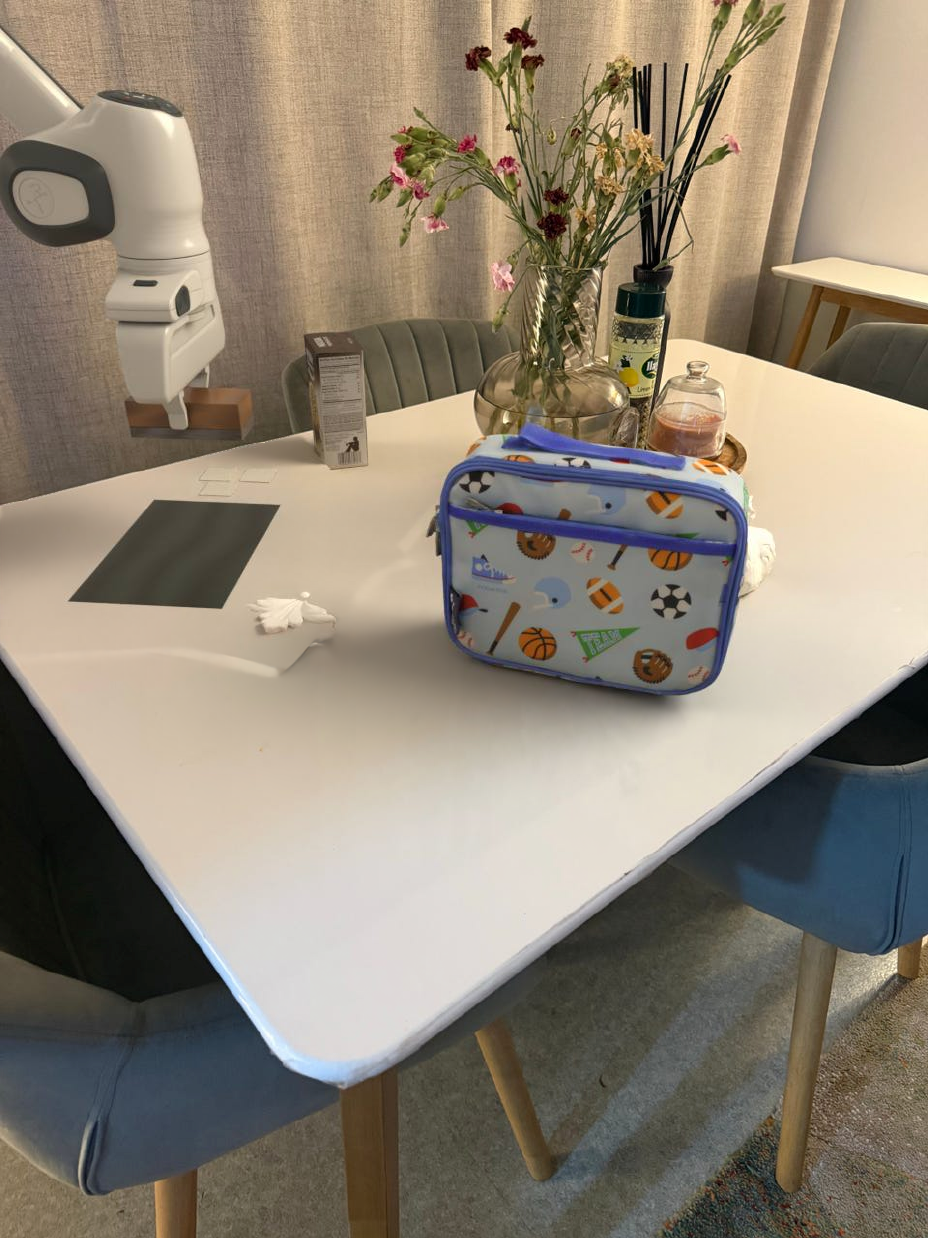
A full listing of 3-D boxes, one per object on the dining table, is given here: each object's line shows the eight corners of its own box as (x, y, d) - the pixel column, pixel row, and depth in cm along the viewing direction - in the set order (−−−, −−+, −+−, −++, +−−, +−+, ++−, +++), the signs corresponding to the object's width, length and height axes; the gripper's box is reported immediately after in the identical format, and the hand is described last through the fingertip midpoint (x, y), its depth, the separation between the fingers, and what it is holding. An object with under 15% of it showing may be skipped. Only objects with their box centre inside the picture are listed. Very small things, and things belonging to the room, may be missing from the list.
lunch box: (417, 664, 83) (412, 442, 71) (450, 608, 92) (450, 401, 80) (717, 720, 77) (767, 486, 65) (723, 653, 85) (768, 436, 73)
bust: (755, 585, 100) (722, 491, 100) (809, 571, 94) (773, 471, 94) (681, 617, 95) (645, 517, 94) (732, 605, 88) (693, 498, 88)
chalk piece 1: (199, 486, 116) (198, 479, 115) (209, 474, 119) (208, 467, 119) (230, 487, 116) (228, 480, 115) (238, 475, 119) (237, 468, 119)
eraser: (131, 437, 94) (123, 400, 92) (148, 420, 99) (141, 385, 96) (242, 441, 94) (237, 404, 92) (254, 423, 98) (250, 388, 96)
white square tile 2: (239, 487, 116) (238, 480, 115) (249, 475, 119) (248, 468, 119) (269, 489, 115) (268, 482, 115) (278, 476, 119) (277, 469, 118)
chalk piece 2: (199, 501, 112) (198, 494, 112) (209, 488, 116) (208, 481, 115) (231, 502, 112) (229, 495, 111) (240, 489, 115) (239, 482, 115)
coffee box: (312, 446, 128) (302, 332, 119) (356, 441, 129) (349, 329, 120) (323, 471, 120) (313, 352, 112) (370, 465, 122) (363, 348, 113)
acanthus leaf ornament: (337, 628, 88) (335, 612, 87) (271, 648, 85) (269, 632, 84) (307, 593, 94) (306, 578, 93) (244, 611, 91) (242, 596, 90)
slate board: (56, 613, 90) (53, 605, 90) (150, 502, 112) (149, 495, 111) (229, 621, 89) (228, 614, 89) (291, 508, 111) (290, 501, 110)
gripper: (172, 259, 97) (192, 384, 104) (95, 306, 79) (126, 451, 87) (229, 260, 96) (245, 385, 104) (165, 308, 79) (189, 453, 87)
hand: (190, 416), depth 95 cm, fingers closed on eraser, 5 cm apart
